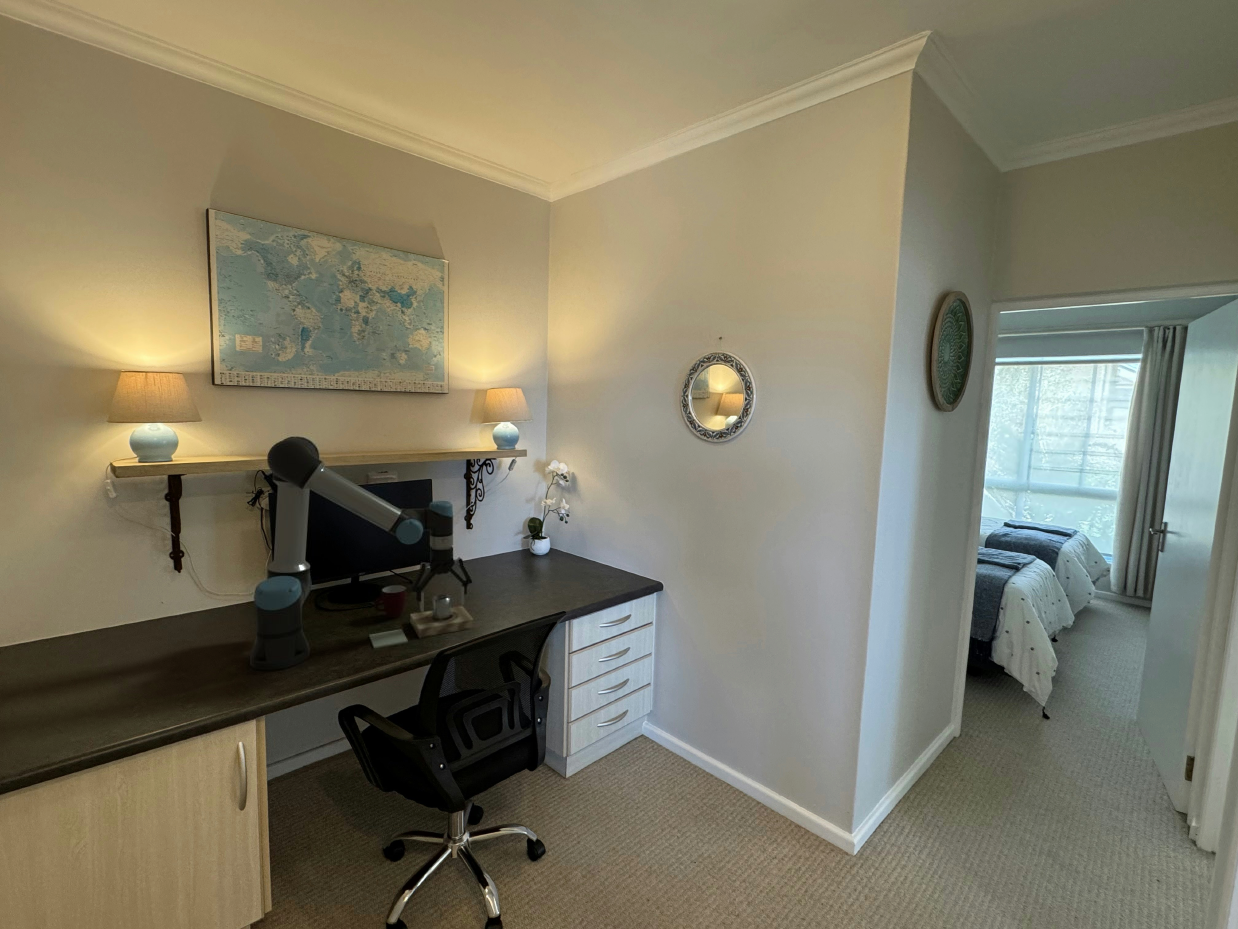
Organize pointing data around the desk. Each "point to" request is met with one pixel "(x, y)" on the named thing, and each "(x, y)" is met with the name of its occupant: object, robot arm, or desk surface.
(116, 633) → the desk surface
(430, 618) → the housing
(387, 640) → the mat
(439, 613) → the gray knobbed peg
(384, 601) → the mug
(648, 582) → the desk surface
